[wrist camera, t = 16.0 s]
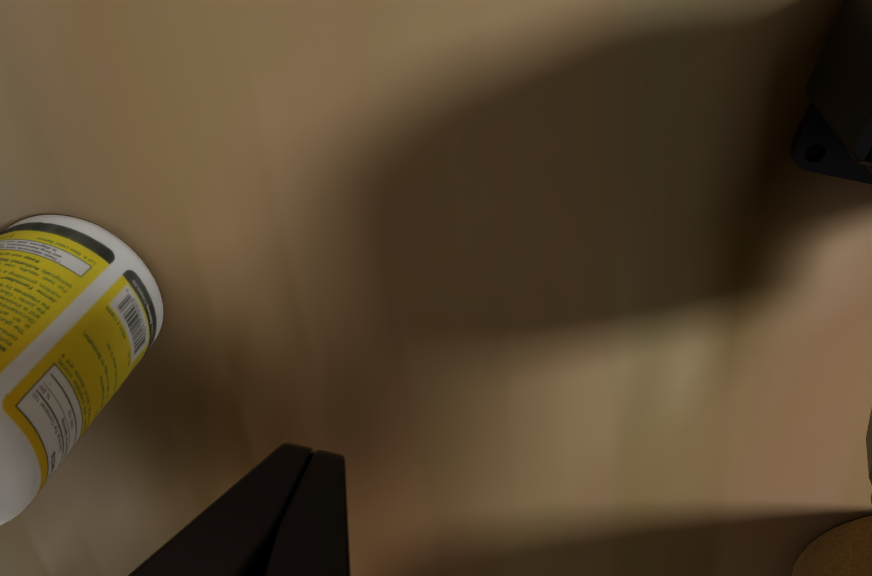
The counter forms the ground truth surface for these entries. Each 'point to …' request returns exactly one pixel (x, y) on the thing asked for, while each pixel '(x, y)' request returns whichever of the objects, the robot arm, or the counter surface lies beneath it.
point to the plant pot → (839, 552)
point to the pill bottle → (63, 341)
